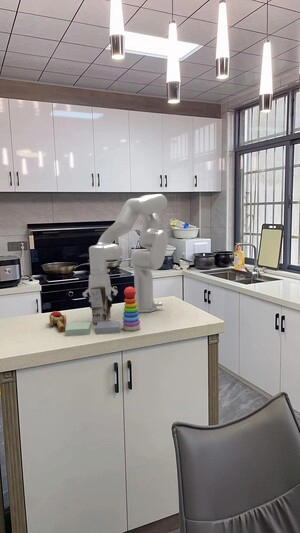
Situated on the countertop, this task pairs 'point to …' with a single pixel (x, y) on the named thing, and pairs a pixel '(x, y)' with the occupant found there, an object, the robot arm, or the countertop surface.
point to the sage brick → (78, 329)
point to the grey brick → (108, 327)
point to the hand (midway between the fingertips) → (101, 308)
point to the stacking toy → (130, 311)
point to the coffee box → (100, 305)
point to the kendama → (58, 320)
